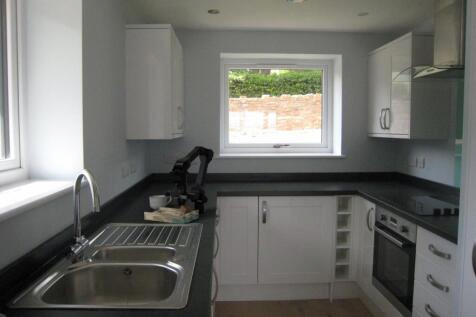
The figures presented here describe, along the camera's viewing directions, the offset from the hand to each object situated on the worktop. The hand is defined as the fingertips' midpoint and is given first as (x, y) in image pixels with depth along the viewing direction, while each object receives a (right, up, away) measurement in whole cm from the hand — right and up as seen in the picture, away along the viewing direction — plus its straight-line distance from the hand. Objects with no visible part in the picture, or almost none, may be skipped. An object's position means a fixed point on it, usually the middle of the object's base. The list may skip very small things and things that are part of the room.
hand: (180, 210), depth 209 cm
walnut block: (+2, -1, -1) cm, 2 cm away
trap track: (-5, -5, 0) cm, 7 cm away
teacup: (-17, -3, +27) cm, 32 cm away
